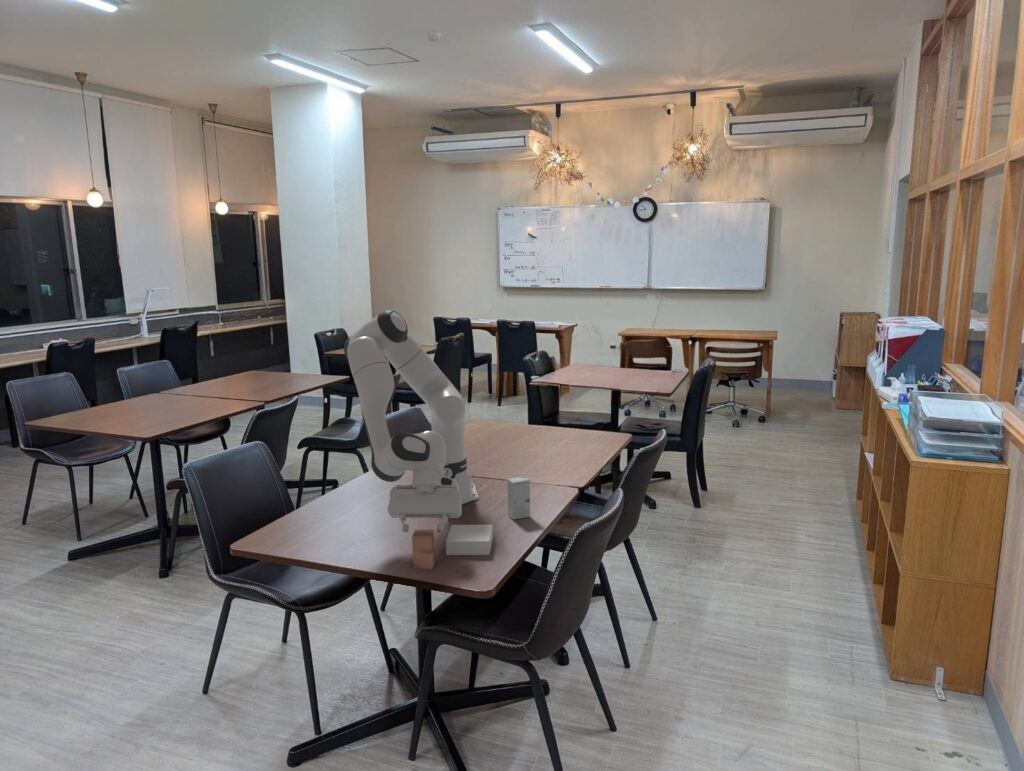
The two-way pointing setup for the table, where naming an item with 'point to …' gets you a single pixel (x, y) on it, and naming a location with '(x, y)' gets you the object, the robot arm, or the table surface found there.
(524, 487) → the skincare box
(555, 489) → the table surface
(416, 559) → the terracotta block
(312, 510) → the table surface
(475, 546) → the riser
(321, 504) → the table surface
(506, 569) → the table surface
